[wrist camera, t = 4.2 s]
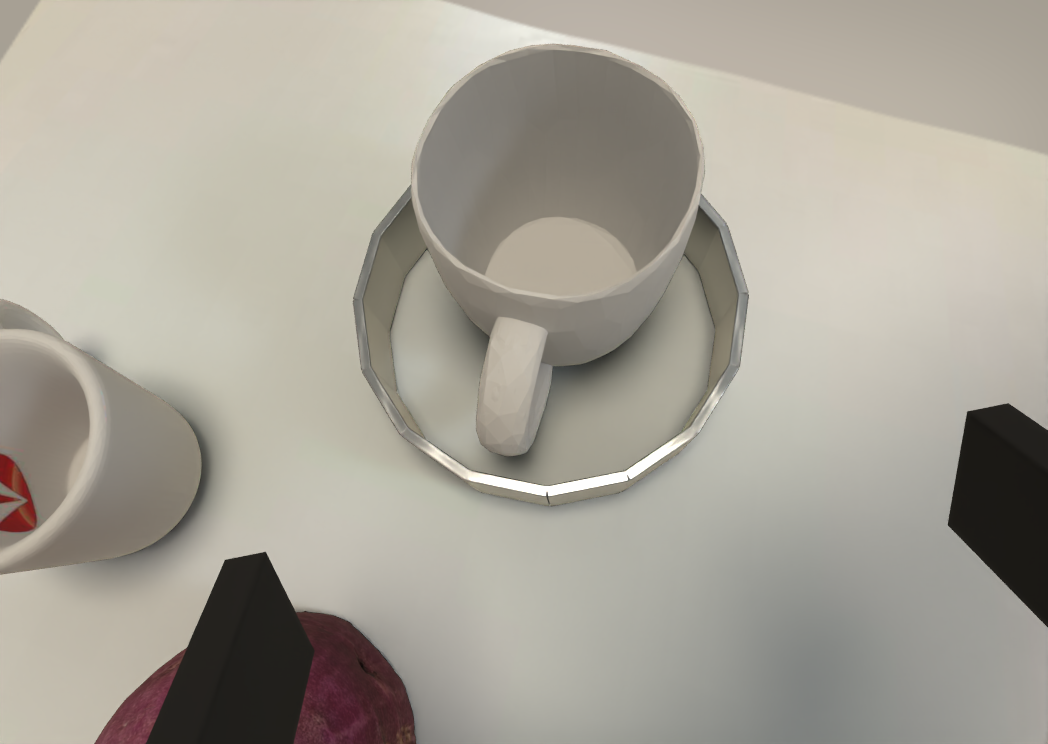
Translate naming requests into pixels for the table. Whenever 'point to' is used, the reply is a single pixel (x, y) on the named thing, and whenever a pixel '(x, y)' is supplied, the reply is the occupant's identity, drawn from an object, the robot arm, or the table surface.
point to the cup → (82, 454)
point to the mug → (554, 214)
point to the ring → (374, 313)
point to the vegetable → (330, 698)
